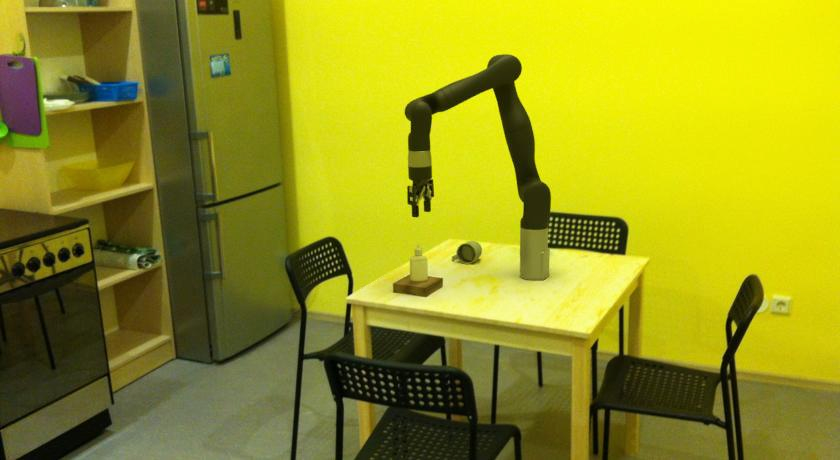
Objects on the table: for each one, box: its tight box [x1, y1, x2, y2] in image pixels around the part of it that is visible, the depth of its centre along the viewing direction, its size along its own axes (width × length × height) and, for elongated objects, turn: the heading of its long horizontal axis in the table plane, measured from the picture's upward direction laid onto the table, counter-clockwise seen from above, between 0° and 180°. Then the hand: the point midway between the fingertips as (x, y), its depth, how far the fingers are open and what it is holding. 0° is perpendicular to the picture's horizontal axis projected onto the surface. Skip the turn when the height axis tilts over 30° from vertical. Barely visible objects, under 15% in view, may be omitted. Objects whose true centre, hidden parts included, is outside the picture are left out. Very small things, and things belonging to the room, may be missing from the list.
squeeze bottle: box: [409, 244, 429, 282], centre depth 261 cm, size 4×6×12 cm
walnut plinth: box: [392, 273, 444, 298], centre depth 263 cm, size 12×12×3 cm
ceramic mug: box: [451, 240, 483, 265], centre depth 296 cm, size 11×8×8 cm
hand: (421, 214), depth 260 cm, fingers open, 8 cm apart
